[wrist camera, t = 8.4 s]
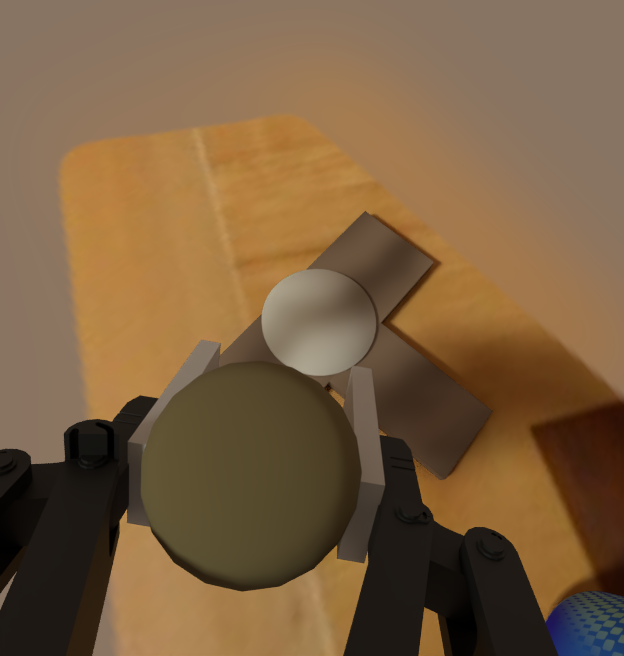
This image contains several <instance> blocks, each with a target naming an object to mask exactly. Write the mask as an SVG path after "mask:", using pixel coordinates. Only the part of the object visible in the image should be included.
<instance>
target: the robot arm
mask: <svg viewBox="0 0 624 656" xmlns="http://www.w3.org/2000/svg"><path fill="white" fill-rule="evenodd" d="M220 345H221V343H217V342H211V341H205V340H201V341H200V342H199V344H198V345H197V346H196V348H195V349H194V351H193V352H192V353H191V355H190V356H189V358H188V359H187V360H186V362H185V363H184V364H183V366H182V367H181V369H180V370H179V371H178V373H177V374H176V376H175V377H174V378H173V380H172V381H171V382H170V384H169V385H168V387H167V388H166V389H165V391H164V392H163V394H162V395H161V396H160V398H159V399H158V398H152V397H146V396H138V397H137V398H135V399H133V400H131V401H129V402H127V404H126V405H125V406H124V407H123V408H122V410H121V411H120V413H119V414H117V416H116V417H115V418H114V419H113V421H112V422H110V421H107V420H100V419H94V420H86V421H82V422H79V423H76V424H74V425H73V426H71V427H69V428H68V429H67V431H66V432H65V433H64V446H65V461H64V462H59V463H50V464H49V463H48V464H31V457H30V456H29V455H28V454H27V453H26V452H24V451H21V450H18V449H2V450H0V593H1V592H2V590H3V589H4V588H5V586H6V585H7V584H8V582H9V581H10V579H11V578H12V577H13V575H14V574H15V573H16V572H17V573H16V575H15V577H14V579H13V582H12V584H11V586H10V589H9V591H8V593H7V596H6V598H5V600H4V603H3V605H2V607H1V610H0V656H92V654H93V649H94V645H95V640H96V636H97V632H98V627H99V623H100V618H101V614H102V609H103V605H104V600H105V596H106V592H107V587H108V583H109V578H110V574H111V569H112V565H113V561H114V556H115V552H116V547H117V543H118V538H119V534H120V532H119V521H120V519H121V518H122V516H123V514H124V513H125V511H126V509H127V523H131V524H137V525H143V526H149V527H150V524H149V521H148V517H147V514H146V511H145V508H144V504H143V501H142V498H141V460H142V455H143V452H144V449H145V446H146V443H147V440H148V438H149V435H150V432H151V429H152V426H153V424H154V422H155V421H156V419H157V418H158V417H159V415H160V414H161V412H162V411H163V410H164V408H165V407H166V405H167V404H168V402H169V401H170V400H171V398H172V397H173V396H174V395H175V394H176V393H178V392H179V391H180V390H181V389H183V388H184V387H185V386H186V385H188V384H189V383H190V382H192V381H193V380H194V379H195V378H197V377H198V376H199V375H201V374H204V373H206V372H209V371H211V370H214V369H217V368H218V367H219V356H220ZM343 410H344V412H345V414H346V416H347V418H348V420H349V422H350V425H351V427H352V429H353V431H354V433H355V435H356V437H357V442H358V448H359V455H360V462H361V469H362V476H361V482H360V488H359V495H358V501H357V508H356V510H355V512H354V514H353V516H352V518H351V520H350V522H349V524H348V526H347V528H346V530H345V532H344V534H343V536H342V538H341V540H340V542H339V543H338V544H337V559H343V560H348V561H354V562H360V563H364V562H365V558H366V555H367V551H368V566H367V570H366V574H365V577H364V581H363V585H362V588H361V592H360V596H359V600H358V603H357V607H356V611H355V614H354V618H353V622H352V625H351V629H350V633H349V637H348V640H347V644H346V648H345V651H344V655H343V656H418V654H419V646H420V637H421V629H422V620H423V612H424V607H425V608H427V609H429V610H432V611H434V612H436V613H438V620H439V625H440V631H441V637H442V642H443V648H444V654H445V656H559V655H558V653H557V650H556V648H555V645H554V643H553V640H552V638H551V635H550V633H549V630H548V628H547V625H546V623H545V620H544V618H543V615H542V613H541V610H540V608H539V605H538V603H537V600H536V598H535V595H534V593H533V590H532V588H531V585H530V583H529V580H528V578H527V575H526V573H525V570H524V568H523V565H522V563H521V560H520V558H519V555H518V552H517V551H516V549H515V548H514V546H513V544H512V543H511V542H510V541H509V540H507V539H506V538H505V537H504V536H503V535H501V534H499V533H498V532H496V531H494V530H491V529H488V528H485V527H474V528H471V529H469V530H468V531H467V532H466V534H465V535H464V536H463V535H461V534H458V533H456V532H454V531H451V530H449V529H447V528H445V527H443V526H441V525H440V524H438V523H437V522H435V521H434V519H433V514H432V513H431V511H430V510H429V508H428V507H427V506H425V505H424V504H423V503H422V499H421V494H420V489H419V485H418V480H417V475H416V472H415V466H414V463H413V457H412V452H411V449H410V448H409V447H408V445H407V444H406V443H405V441H404V440H403V439H400V438H394V437H388V436H382V435H379V428H378V420H377V411H376V403H375V395H374V386H373V378H372V369H370V368H364V367H358V366H352V368H351V373H350V378H349V382H348V387H347V392H346V396H345V401H344V406H343Z"/></svg>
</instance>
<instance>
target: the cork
mask: <svg viewBox="0 0 624 656" xmlns="http://www.w3.org/2000/svg"><path fill="white" fill-rule="evenodd" d="M361 476H362V469H361V462H360V455H359V448H358V442H357V437H356V435H355V433H354V431H353V429H352V427H351V425H350V422H349V420H348V418H347V416H346V414H345V412H344V410H343V408H342V407H341V405H340V404H339V403H338V402H337V401H336V400H335V399H334V398H333V397H332V396H331V395H330V394H329V393H328V391H327V390H326V389H325V388H324V387H323V386H322V385H321V384H320V383H319V382H317V381H316V380H314V379H312V378H310V377H309V376H307V375H305V374H303V373H301V372H300V371H298V370H296V369H294V368H293V367H289V366H285V365H280V364H275V363H271V362H266V361H250V362H238V363H229V364H227V365H224V366H222V367H219V368H217V369H214V370H211V371H209V372H206V373H204V374H201V375H199V376H198V377H197V378H195V379H194V380H193V381H192V382H190V383H189V384H188V385H186V386H185V387H184V388H183V389H181V390H180V391H179V392H178V393H176V394H175V395H174V396H173V397H172V398H171V400H170V401H169V402H168V404H167V405H166V407H165V408H164V410H163V411H162V412H161V414H160V415H159V417H158V418H157V419H156V421H155V422H154V424H153V426H152V429H151V432H150V435H149V438H148V440H147V443H146V446H145V449H144V452H143V455H142V460H141V498H142V501H143V504H144V508H145V511H146V514H147V517H148V521H149V524H150V527H151V531H152V533H153V535H154V536H155V537H156V539H157V540H158V541H159V543H160V544H161V545H162V547H163V548H164V550H165V551H166V552H167V554H168V555H169V556H170V558H171V559H172V561H173V562H174V563H175V564H177V565H178V566H180V567H181V568H183V569H184V570H186V571H187V572H189V573H191V574H192V575H194V576H195V577H197V578H198V579H200V580H201V581H203V582H204V583H207V584H211V585H215V586H220V587H224V588H229V589H233V590H237V591H249V590H257V589H264V588H271V587H279V586H281V585H283V584H285V583H287V582H289V581H291V580H293V579H295V578H297V577H299V576H301V575H303V574H305V573H306V572H308V571H310V570H312V569H314V568H315V567H316V566H317V565H318V564H319V563H320V562H321V561H322V560H323V559H324V557H325V556H326V555H327V554H328V553H329V552H330V551H331V550H332V549H333V548H334V547H335V546H336V545H337V544H338V543H339V542H340V540H341V538H342V536H343V534H344V532H345V530H346V528H347V526H348V524H349V522H350V520H351V518H352V516H353V514H354V512H355V510H356V508H357V501H358V495H359V488H360V482H361Z"/></svg>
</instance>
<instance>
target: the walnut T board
mask: <svg viewBox="0 0 624 656" xmlns="http://www.w3.org/2000/svg"><path fill="white" fill-rule="evenodd" d="M433 263H434V261H432V260H431V259H430V258H428V257H427V256H425V255H424V254H423V253H421V252H420V251H419V250H417V249H416V248H415V247H413V246H412V245H411V244H409V243H408V242H406V241H405V240H404V239H402V238H401V237H400V236H398V235H397V234H396V233H394V232H393V231H392V230H390V229H389V228H387V227H386V226H385V225H383V224H382V223H381V222H379V221H378V220H377V219H375V218H374V217H373V216H371V215H370V214H368V213H367V212H366V211H365V212H364V213H363V214H362V215H361V216H360V217H359V218H358V219H357V220H356V221H355V222H354V223H353V224H352V225H351V226H350V227H349V228H348V229H347V230H346V231H345V232H344V233H342V234H341V235H340V236H339V237H338V238H337V239H336V240H335V241H334V242H333V243H332V244H331V245H330V246H329V247H328V248H327V249H326V250H325V251H324V252H323V253H322V254H321V255H320V256H319V257H318V258H317V259H316V260H315V261H314V262H313V263H312V264H311V265H310V266H309V267H308V268H307V269H306V270H303V271H299V272H297V273H294V274H292V275H290V276H288V277H286V278H285V279H283V280H282V281H280V282H279V283H278V284H277V285H276V286H275V287H274V288H273V289H272V291H271V292H270V294H269V295H268V297H267V299H266V301H265V304H264V307H263V311H262V314H261V315H260V316H259V317H258V318H257V319H256V320H255V321H254V322H253V323H252V324H251V325H250V326H249V327H248V328H247V329H246V330H245V331H244V332H243V333H242V334H241V335H240V336H239V337H238V338H237V339H236V340H235V341H234V342H233V343H232V344H231V345H230V346H229V347H228V348H227V349H226V350H225V351H224V352H223V353H222V354H221V355H220V356H219V367H222V366H224V365H227V364H229V363H238V362H250V361H266V362H271V363H275V364H280V365H285V366H289V367H293V368H294V369H296V370H298V371H300V372H301V373H303V374H305V375H307V376H309V377H310V378H312V379H314V380H316V381H317V382H319V383H320V384H321V385H322V386H323V387H324V388H326V387H327V386H330V387H331V388H332V389H333V390H334V391H336V392H337V393H338V394H339V395H340V396H341V397H343V398H344V399H345V396H346V392H347V387H348V382H349V378H350V373H351V368H352V366H358V367H364V368H370V369H372V378H373V386H374V395H375V403H376V411H377V420H378V428H379V429H380V430H382V431H383V432H384V433H385V434H386V435H388V436H389V437H394V438H400V439H403V440H404V441H405V443H406V444H407V445H408V447H409V448H410V449H411V452H412V457H414V458H415V459H416V460H417V461H418V462H419V463H421V464H422V465H423V466H424V467H425V468H427V469H428V470H429V471H430V472H431V473H432V474H434V475H435V476H436V477H437V478H438V479H440V480H443V479H446V477H447V476H448V474H449V473H450V471H451V470H452V469H453V467H454V466H455V464H456V463H457V461H458V460H459V459H460V457H461V456H462V454H463V453H464V452H465V450H466V449H467V447H468V446H469V444H470V443H471V442H472V440H473V439H474V437H475V436H476V434H477V433H478V432H479V430H480V429H481V427H482V426H483V425H484V423H485V422H486V420H487V419H488V417H489V416H490V415H491V413H492V412H493V411H492V410H491V409H489V408H488V407H487V406H486V405H484V404H483V403H482V402H481V401H479V400H478V399H477V398H476V397H474V396H473V395H472V394H470V393H469V392H468V391H467V390H465V389H464V388H463V387H462V386H460V385H459V384H458V383H457V382H455V381H454V380H453V379H451V378H450V377H449V376H448V375H446V374H445V373H444V372H443V371H441V370H440V369H439V368H438V367H436V366H435V365H434V364H432V363H431V362H430V361H429V360H427V359H426V358H425V357H424V356H422V355H421V354H420V353H419V352H417V351H416V350H415V349H413V348H412V347H411V346H410V345H408V344H407V343H406V342H405V341H403V340H402V339H401V338H400V337H398V336H397V335H396V334H394V333H393V332H392V331H391V330H389V329H388V328H387V327H386V326H384V325H383V324H382V323H383V321H384V320H385V319H386V318H387V317H388V316H389V315H390V313H391V312H392V311H393V310H394V309H395V308H396V307H397V305H398V304H399V303H400V302H401V301H402V300H403V299H404V297H405V296H406V295H407V294H408V293H409V292H410V291H411V289H412V288H413V287H414V286H415V285H416V284H417V283H418V281H419V280H420V279H421V278H422V277H423V276H424V275H425V273H426V272H427V271H428V270H429V269H430V268H431V266H432V264H433ZM219 367H218V368H219Z"/></svg>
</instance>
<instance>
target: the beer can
mask: <svg viewBox="0 0 624 656" xmlns="http://www.w3.org/2000/svg"><path fill="white" fill-rule="evenodd" d="M545 623H546V625H547V628H548V630H549V633H550V635H551V638H552V640H553V643H554V645H555V648H556V650H557V653H558V655H559V656H624V597H623V596H619V595H615V594H611V593H607V592H601V591H586V592H581V593H577V594H574V595H572V596H570V597H568V598H566V599H565V600H563V601H562V602H560V603H559V604H558V605H557V606H556V607H555V608H554V609H553V610H552V612H551V613H550V615H549V616H548V618H547V620H546V621H545Z"/></svg>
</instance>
